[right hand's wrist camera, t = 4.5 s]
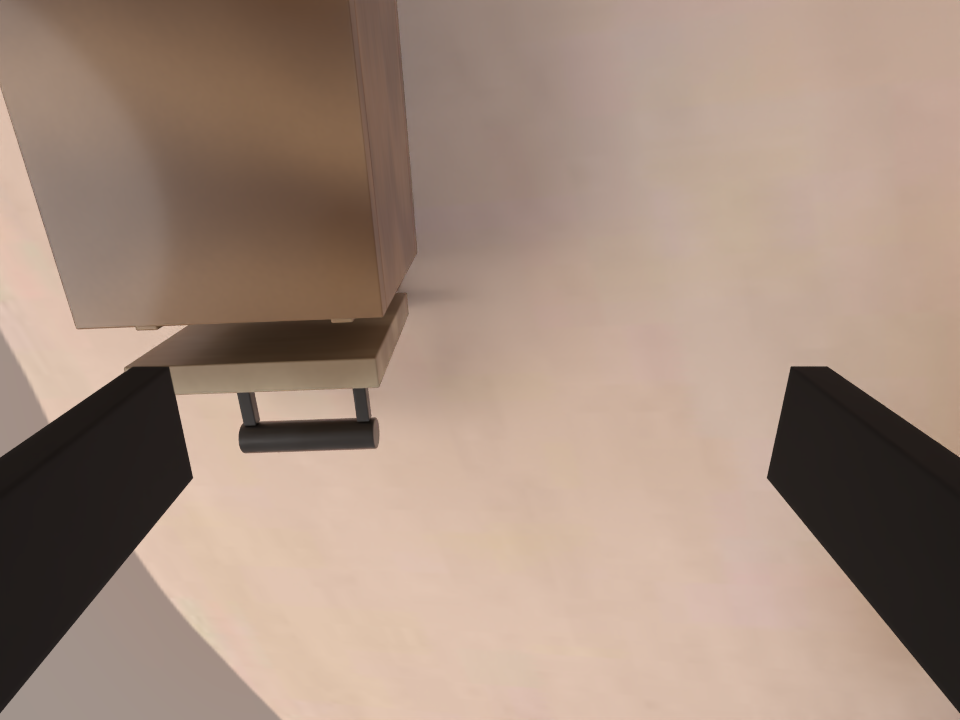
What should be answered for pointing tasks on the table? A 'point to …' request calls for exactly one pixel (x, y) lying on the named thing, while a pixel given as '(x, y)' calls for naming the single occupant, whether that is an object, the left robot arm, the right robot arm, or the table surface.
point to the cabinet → (214, 155)
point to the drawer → (286, 372)
